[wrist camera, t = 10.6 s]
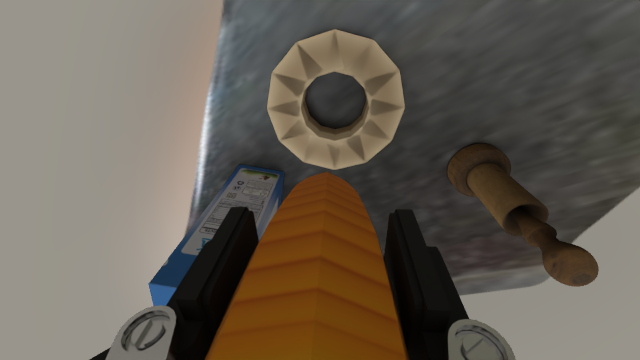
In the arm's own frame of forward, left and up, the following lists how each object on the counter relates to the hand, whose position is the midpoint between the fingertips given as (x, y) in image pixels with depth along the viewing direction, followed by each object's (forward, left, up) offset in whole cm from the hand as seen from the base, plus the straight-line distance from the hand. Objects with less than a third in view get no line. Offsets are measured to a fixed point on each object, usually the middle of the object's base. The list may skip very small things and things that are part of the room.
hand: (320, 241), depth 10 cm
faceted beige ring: (0, 0, -25) cm, 25 cm away
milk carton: (-11, +14, -25) cm, 31 cm away
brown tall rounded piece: (-13, -15, -25) cm, 32 cm away
